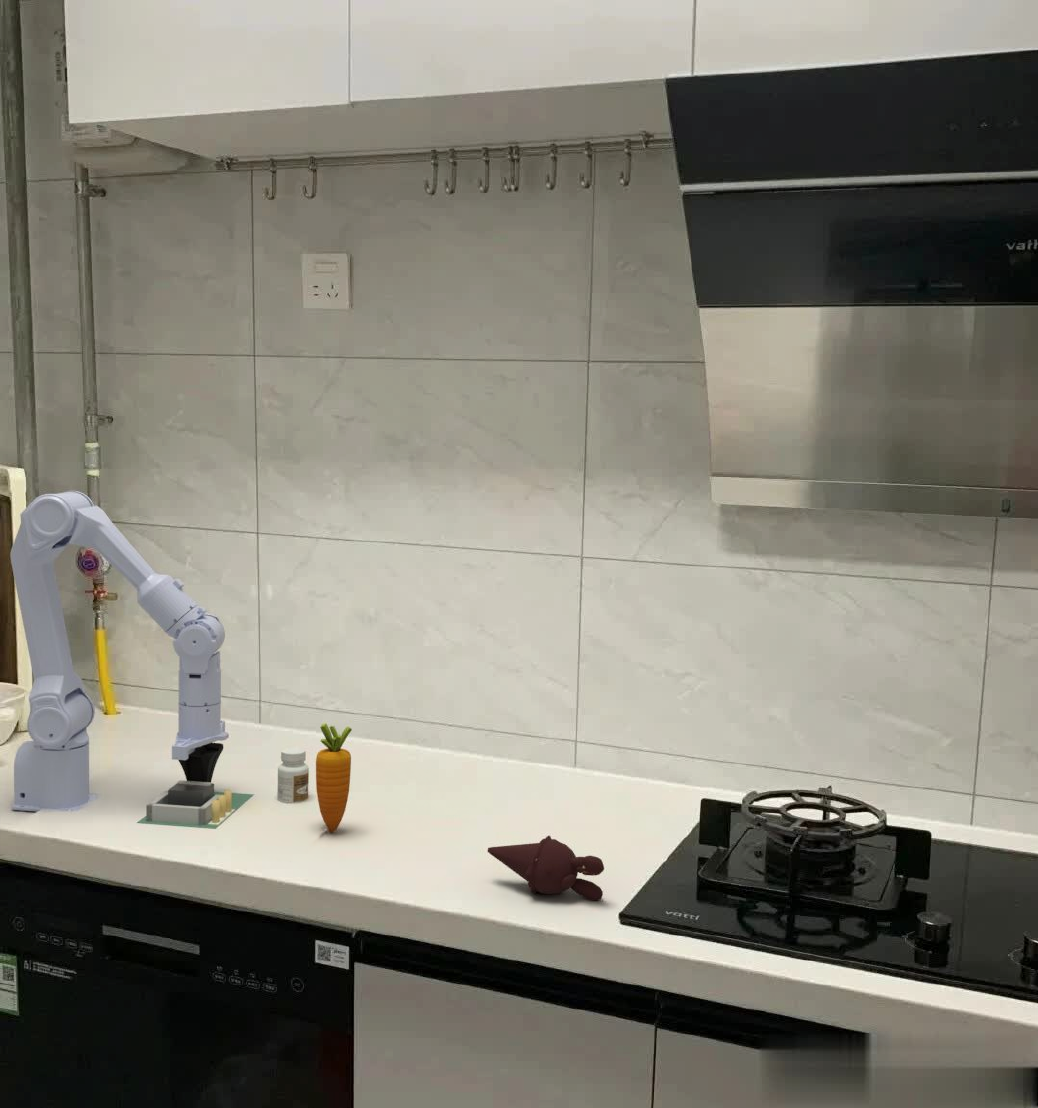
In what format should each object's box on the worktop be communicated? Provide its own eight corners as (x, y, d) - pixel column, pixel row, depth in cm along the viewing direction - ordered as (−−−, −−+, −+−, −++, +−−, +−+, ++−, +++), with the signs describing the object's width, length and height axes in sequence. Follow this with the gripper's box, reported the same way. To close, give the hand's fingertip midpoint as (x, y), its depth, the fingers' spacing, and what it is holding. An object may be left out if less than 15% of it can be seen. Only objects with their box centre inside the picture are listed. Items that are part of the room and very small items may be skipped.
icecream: (474, 841, 137) (593, 875, 131) (501, 809, 143) (615, 840, 138) (474, 890, 140) (591, 925, 134) (500, 856, 146) (613, 888, 140)
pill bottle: (301, 808, 166) (302, 755, 165) (272, 805, 167) (273, 753, 166) (312, 799, 170) (313, 747, 170) (284, 796, 171) (285, 745, 170)
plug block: (168, 814, 160) (168, 787, 159) (179, 805, 164) (179, 779, 163) (203, 817, 159) (203, 790, 159) (214, 807, 163) (214, 781, 163)
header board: (136, 826, 156) (136, 800, 156) (181, 793, 171) (181, 769, 171) (215, 832, 155) (215, 806, 155) (254, 798, 170) (254, 774, 169)
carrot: (356, 828, 158) (358, 720, 157) (341, 840, 154) (343, 729, 152) (323, 824, 160) (325, 717, 158) (307, 836, 155) (309, 725, 153)
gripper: (207, 715, 156) (207, 814, 157) (245, 692, 170) (244, 782, 171) (157, 712, 156) (156, 810, 158) (198, 689, 171) (198, 779, 172)
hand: (199, 796), depth 165 cm, fingers closed
